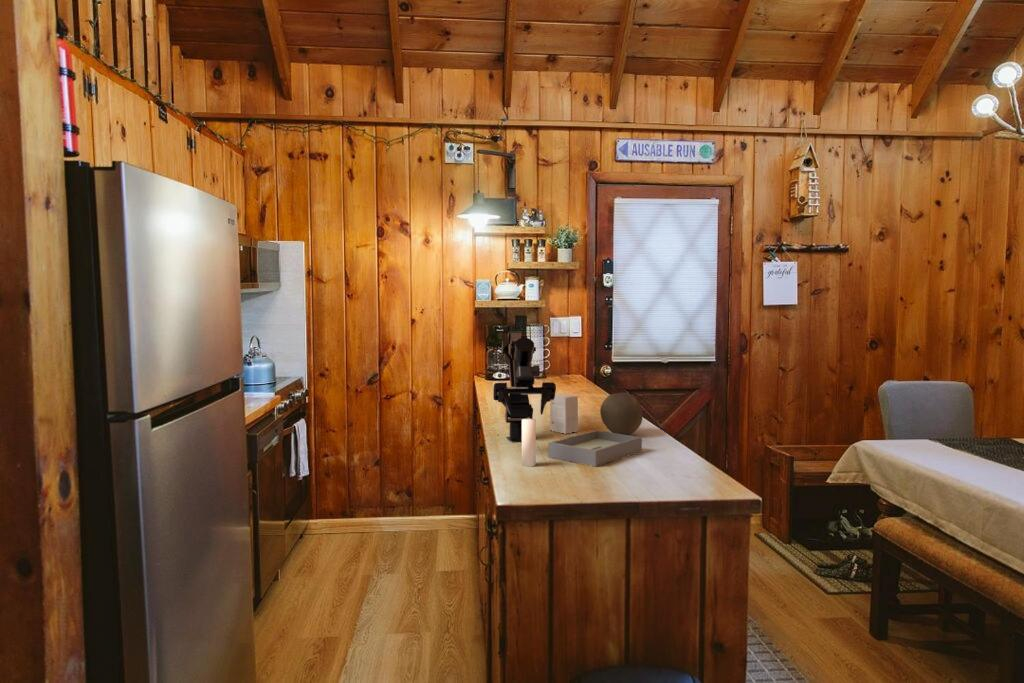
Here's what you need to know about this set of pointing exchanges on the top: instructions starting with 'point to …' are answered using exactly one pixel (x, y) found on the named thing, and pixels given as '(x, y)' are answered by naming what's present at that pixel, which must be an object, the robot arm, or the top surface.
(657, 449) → the top surface
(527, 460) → the peg
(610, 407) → the brown ball
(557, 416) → the small box
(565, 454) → the tray
